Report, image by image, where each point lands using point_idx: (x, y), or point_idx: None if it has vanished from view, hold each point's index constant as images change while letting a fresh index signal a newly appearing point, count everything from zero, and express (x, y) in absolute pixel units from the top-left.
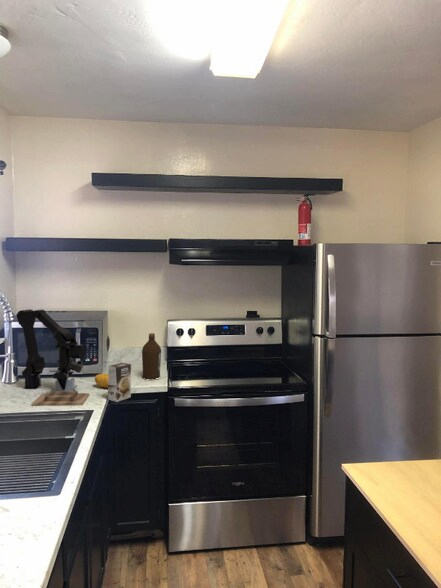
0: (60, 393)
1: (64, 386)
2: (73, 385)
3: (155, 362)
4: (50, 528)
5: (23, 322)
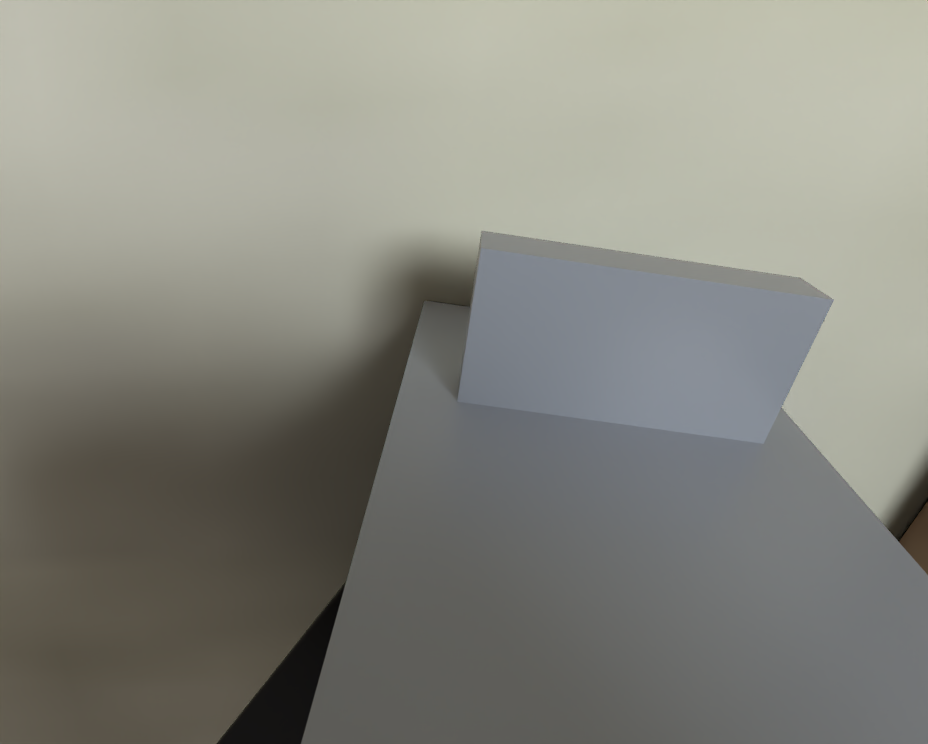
0: None
1: None
2: (586, 436)
3: None
4: None
5: None
